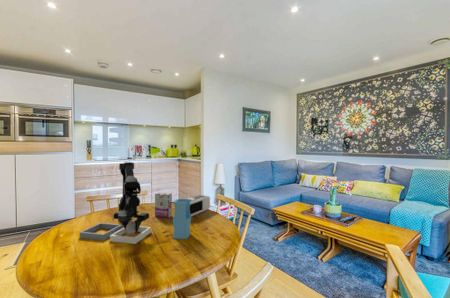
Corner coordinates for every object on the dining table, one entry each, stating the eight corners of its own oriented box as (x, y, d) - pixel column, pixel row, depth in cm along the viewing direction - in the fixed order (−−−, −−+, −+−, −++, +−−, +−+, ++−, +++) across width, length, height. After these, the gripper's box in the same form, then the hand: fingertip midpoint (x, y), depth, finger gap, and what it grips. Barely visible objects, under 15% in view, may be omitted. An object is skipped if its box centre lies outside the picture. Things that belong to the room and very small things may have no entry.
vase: (186, 239, 116) (186, 202, 116) (172, 238, 118) (172, 201, 117) (191, 233, 124) (191, 199, 123) (178, 232, 125) (178, 198, 125)
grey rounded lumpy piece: (139, 231, 123) (139, 219, 123) (134, 236, 116) (134, 224, 116) (128, 231, 123) (128, 219, 122) (122, 236, 116) (123, 223, 115)
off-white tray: (128, 230, 128) (128, 225, 128) (151, 232, 125) (151, 227, 125) (109, 241, 113) (109, 235, 113) (135, 243, 110) (135, 238, 110)
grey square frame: (100, 227, 132) (100, 222, 132) (122, 229, 129) (122, 224, 129) (79, 237, 117) (79, 232, 117) (103, 240, 114) (103, 234, 114)
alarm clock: (187, 219, 147) (187, 202, 147) (177, 217, 152) (177, 200, 152) (210, 209, 170) (210, 194, 170) (200, 207, 175) (200, 193, 175)
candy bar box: (172, 216, 154) (172, 193, 154) (168, 218, 149) (168, 194, 149) (158, 214, 157) (158, 192, 157) (154, 216, 153) (154, 193, 152)
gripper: (106, 206, 113) (106, 235, 113) (137, 208, 109) (137, 239, 110) (120, 200, 124) (120, 227, 124) (149, 202, 120) (149, 230, 121)
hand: (131, 231), depth 119 cm, fingers closed on grey rounded lumpy piece, 6 cm apart
